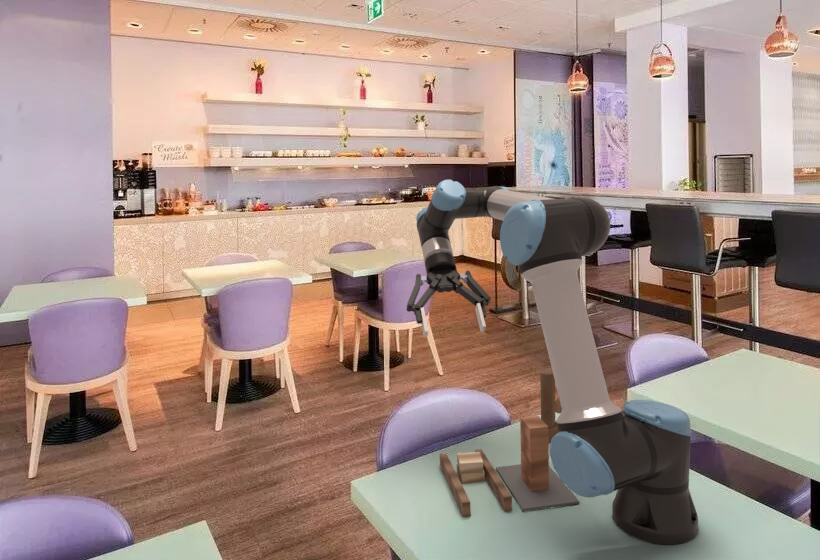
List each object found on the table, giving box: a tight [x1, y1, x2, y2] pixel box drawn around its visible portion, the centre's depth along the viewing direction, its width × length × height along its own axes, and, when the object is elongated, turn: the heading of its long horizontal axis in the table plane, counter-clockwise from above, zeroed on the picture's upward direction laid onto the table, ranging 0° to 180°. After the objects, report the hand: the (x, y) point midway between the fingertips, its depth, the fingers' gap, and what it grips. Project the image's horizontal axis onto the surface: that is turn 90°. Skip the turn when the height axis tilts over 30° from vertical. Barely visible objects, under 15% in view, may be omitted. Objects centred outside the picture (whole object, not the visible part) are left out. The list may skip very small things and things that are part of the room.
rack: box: [439, 448, 513, 517], centre depth 128 cm, size 22×10×3 cm, turn 9°
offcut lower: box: [456, 464, 486, 485], centre depth 133 cm, size 5×5×2 cm
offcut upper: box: [456, 451, 483, 474], centre depth 132 cm, size 5×5×2 cm
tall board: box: [519, 415, 550, 491], centre depth 126 cm, size 6×4×14 cm, turn 9°
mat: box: [495, 463, 580, 512], centre depth 128 cm, size 18×12×1 cm, turn 9°
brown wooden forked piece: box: [539, 369, 562, 443], centre depth 150 cm, size 4×11×18 cm, turn 113°
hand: (454, 332), depth 136 cm, fingers open, 13 cm apart
